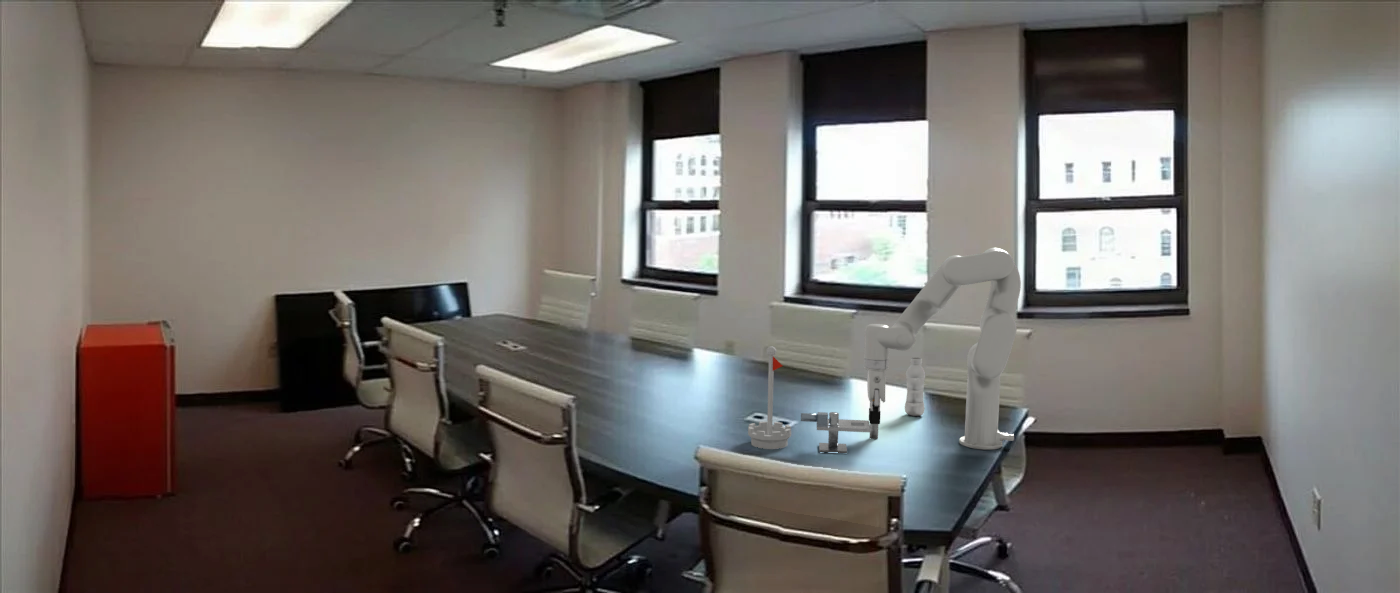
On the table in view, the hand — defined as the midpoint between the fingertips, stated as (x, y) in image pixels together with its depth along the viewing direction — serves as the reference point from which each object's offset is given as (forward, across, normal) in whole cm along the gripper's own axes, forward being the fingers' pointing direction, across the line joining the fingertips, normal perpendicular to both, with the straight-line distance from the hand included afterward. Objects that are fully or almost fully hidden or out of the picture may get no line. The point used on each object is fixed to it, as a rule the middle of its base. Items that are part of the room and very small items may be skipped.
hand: (874, 421), depth 277 cm
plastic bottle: (+5, +32, -16) cm, 36 cm away
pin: (+5, 0, 0) cm, 5 cm away
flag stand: (+5, -12, +32) cm, 35 cm away
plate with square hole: (+5, -15, +13) cm, 21 cm away
